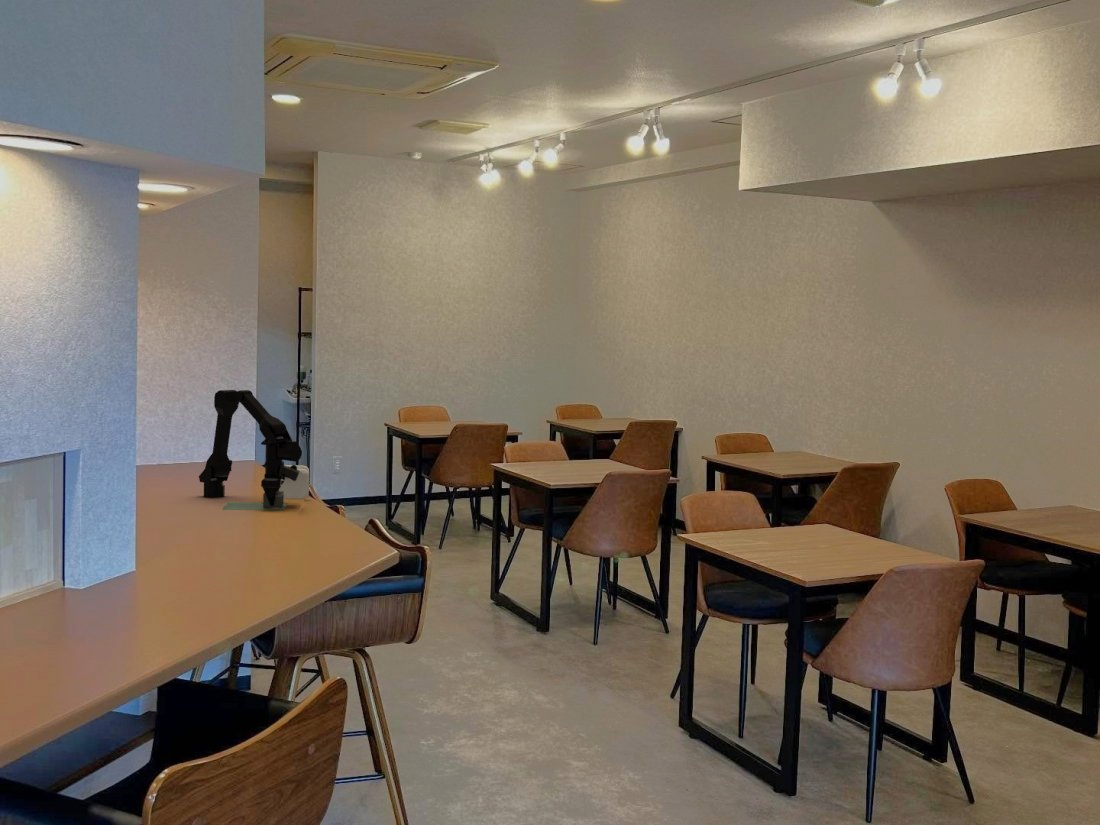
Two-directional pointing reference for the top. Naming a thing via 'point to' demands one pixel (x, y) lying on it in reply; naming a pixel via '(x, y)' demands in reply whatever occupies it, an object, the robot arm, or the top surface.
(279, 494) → the plug
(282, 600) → the top surface
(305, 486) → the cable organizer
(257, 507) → the header board
